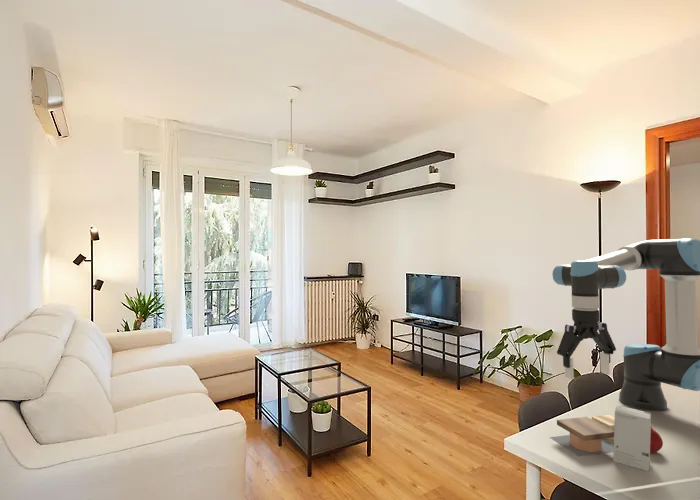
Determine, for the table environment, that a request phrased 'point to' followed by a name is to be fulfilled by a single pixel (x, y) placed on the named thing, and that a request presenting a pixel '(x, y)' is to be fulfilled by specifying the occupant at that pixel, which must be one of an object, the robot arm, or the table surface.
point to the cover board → (586, 428)
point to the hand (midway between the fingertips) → (587, 375)
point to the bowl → (586, 444)
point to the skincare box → (632, 437)
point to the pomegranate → (655, 441)
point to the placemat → (565, 442)
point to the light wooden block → (605, 421)
